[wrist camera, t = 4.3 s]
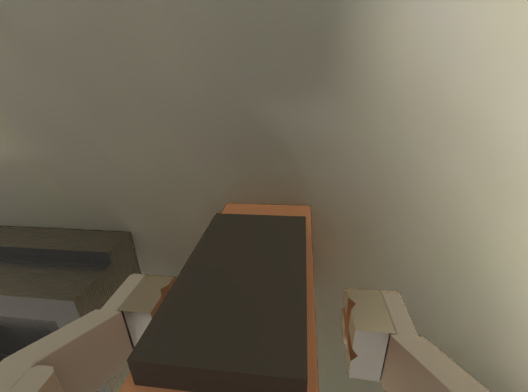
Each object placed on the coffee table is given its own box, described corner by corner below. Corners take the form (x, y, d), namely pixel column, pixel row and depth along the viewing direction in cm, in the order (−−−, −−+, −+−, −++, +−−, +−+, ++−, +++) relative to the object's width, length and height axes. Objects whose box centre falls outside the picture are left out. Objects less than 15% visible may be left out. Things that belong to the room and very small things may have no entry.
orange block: (306, 289, 12) (310, 607, 5) (234, 284, 13) (140, 571, 5) (310, 190, 10) (326, 471, 3) (226, 188, 11) (67, 432, 4)
